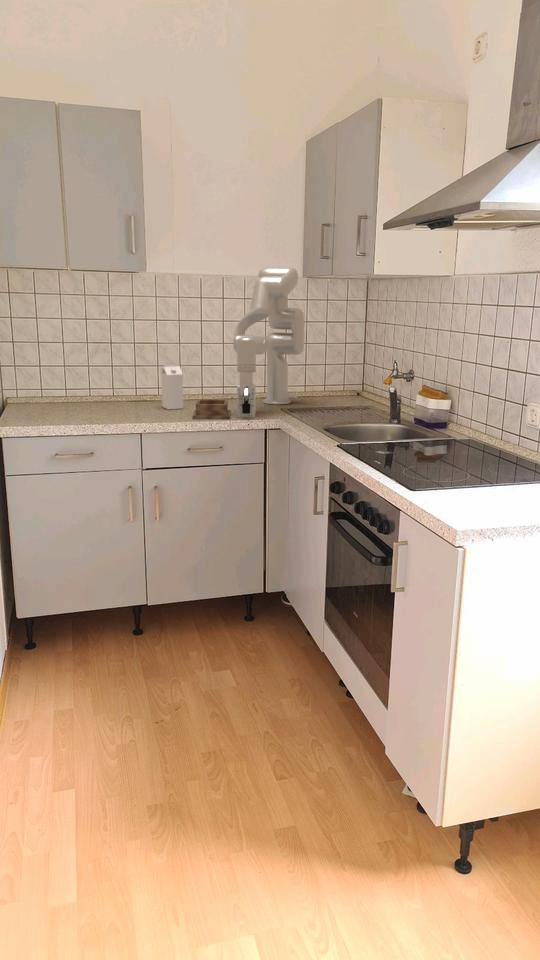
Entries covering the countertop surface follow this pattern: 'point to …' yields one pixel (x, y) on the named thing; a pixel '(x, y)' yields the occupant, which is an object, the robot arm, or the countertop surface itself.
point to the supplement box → (240, 402)
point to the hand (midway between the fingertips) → (246, 411)
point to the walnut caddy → (212, 409)
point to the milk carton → (172, 386)
